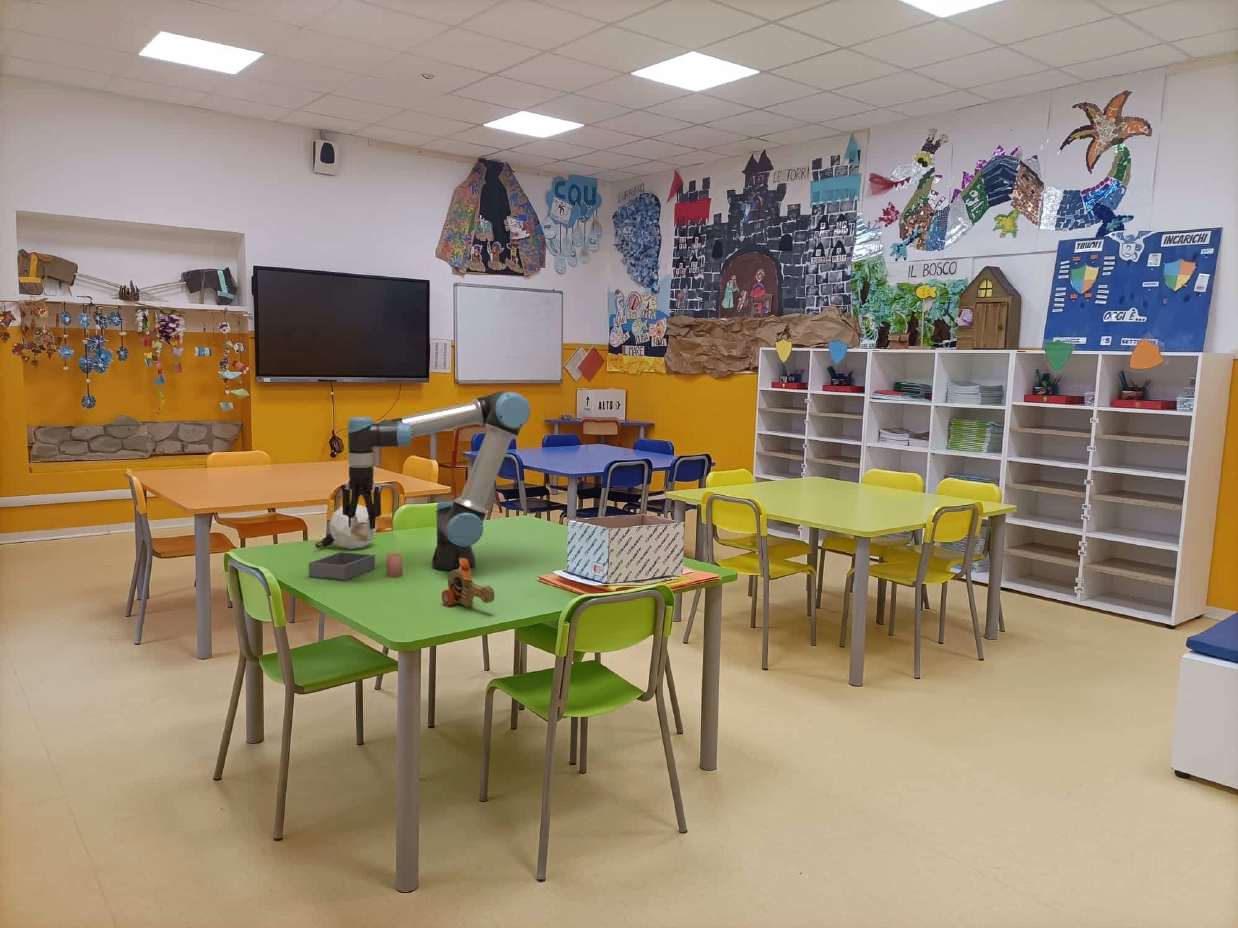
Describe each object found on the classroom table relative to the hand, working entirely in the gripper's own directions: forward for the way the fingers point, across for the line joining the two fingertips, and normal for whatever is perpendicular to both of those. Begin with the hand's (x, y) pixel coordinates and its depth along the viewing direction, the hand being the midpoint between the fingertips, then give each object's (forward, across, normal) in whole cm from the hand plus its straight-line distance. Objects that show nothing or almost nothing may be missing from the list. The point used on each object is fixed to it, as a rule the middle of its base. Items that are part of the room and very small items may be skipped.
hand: (362, 537), depth 278 cm
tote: (+15, +13, -9) cm, 22 cm away
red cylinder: (+15, -5, -12) cm, 19 cm away
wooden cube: (0, 0, 0) cm, 0 cm away
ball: (+15, +34, -44) cm, 58 cm away
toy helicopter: (+15, -44, +15) cm, 49 cm away
